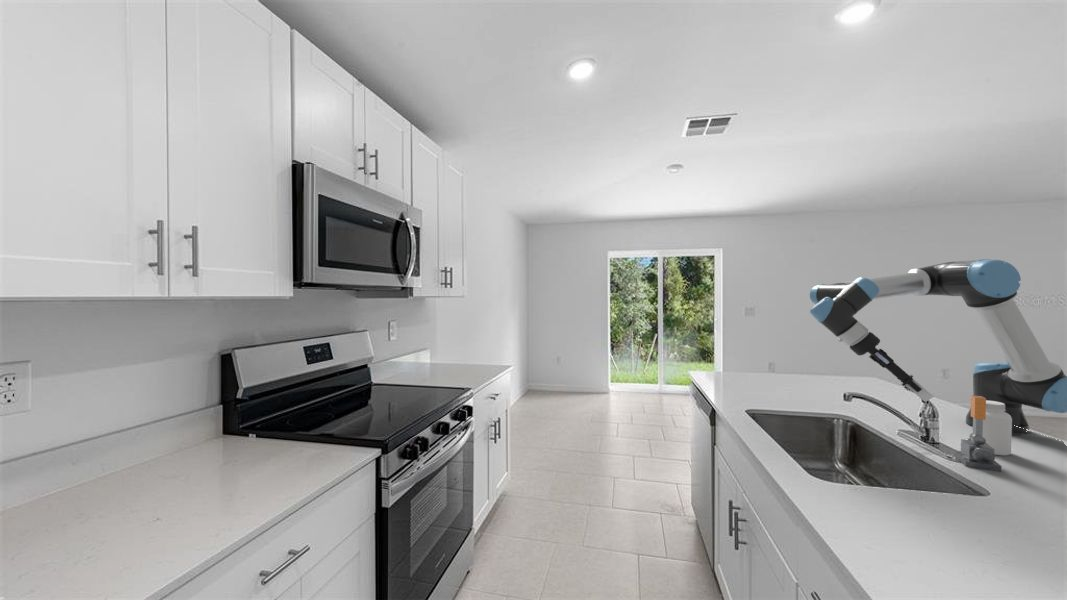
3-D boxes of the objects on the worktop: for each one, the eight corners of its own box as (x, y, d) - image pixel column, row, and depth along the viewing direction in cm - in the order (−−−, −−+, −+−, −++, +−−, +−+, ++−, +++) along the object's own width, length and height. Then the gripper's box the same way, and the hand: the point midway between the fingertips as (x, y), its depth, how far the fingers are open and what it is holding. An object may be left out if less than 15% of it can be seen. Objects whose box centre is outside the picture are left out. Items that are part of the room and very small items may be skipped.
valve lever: (973, 444, 119) (974, 397, 118) (969, 440, 121) (970, 395, 121) (985, 445, 117) (986, 398, 117) (980, 441, 120) (981, 396, 120)
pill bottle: (966, 447, 131) (967, 400, 130) (982, 444, 133) (983, 398, 133) (1000, 457, 123) (1002, 407, 123) (1017, 454, 126) (1019, 404, 125)
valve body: (965, 466, 118) (966, 446, 117) (954, 455, 125) (954, 436, 125) (1001, 471, 114) (1001, 450, 114) (987, 460, 122) (987, 440, 121)
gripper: (845, 344, 139) (910, 401, 131) (851, 349, 127) (923, 412, 119) (865, 329, 136) (933, 386, 128) (873, 332, 125) (949, 395, 117)
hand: (928, 398), depth 124 cm, fingers closed
